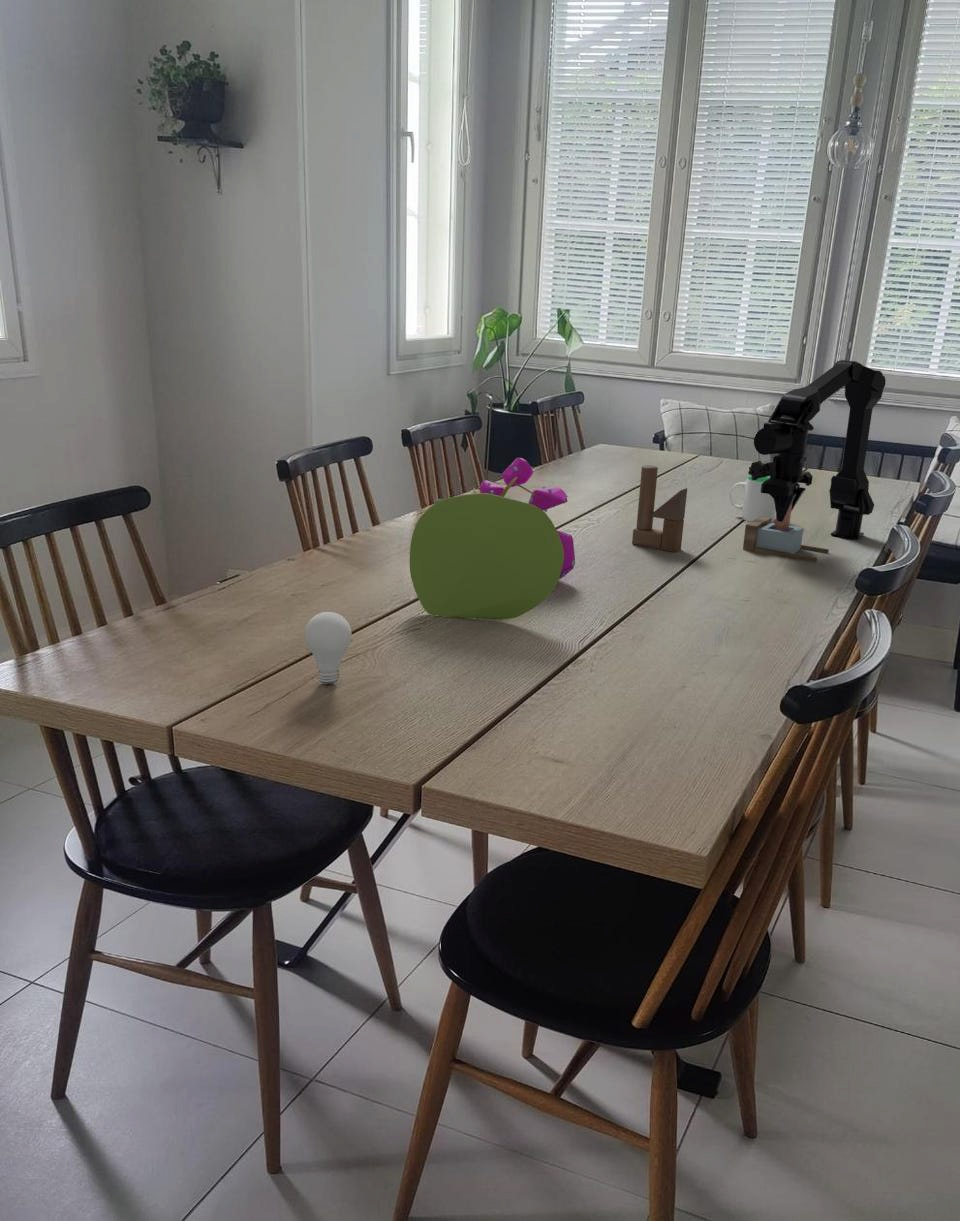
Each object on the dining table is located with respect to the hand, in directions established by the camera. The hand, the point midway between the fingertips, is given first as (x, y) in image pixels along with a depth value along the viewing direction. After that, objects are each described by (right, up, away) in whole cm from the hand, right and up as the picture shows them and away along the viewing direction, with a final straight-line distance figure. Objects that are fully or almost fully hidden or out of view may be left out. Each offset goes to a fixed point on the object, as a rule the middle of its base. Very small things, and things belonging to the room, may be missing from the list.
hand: (782, 520), depth 227 cm
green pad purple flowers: (-65, -17, -34) cm, 75 cm away
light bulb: (-91, -31, -81) cm, 125 cm away
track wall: (+1, -7, +1) cm, 7 cm away
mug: (+2, +3, +33) cm, 33 cm away
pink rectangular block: (0, -2, +1) cm, 2 cm away
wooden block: (-28, -6, +1) cm, 29 cm away
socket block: (0, -7, +2) cm, 7 cm away
